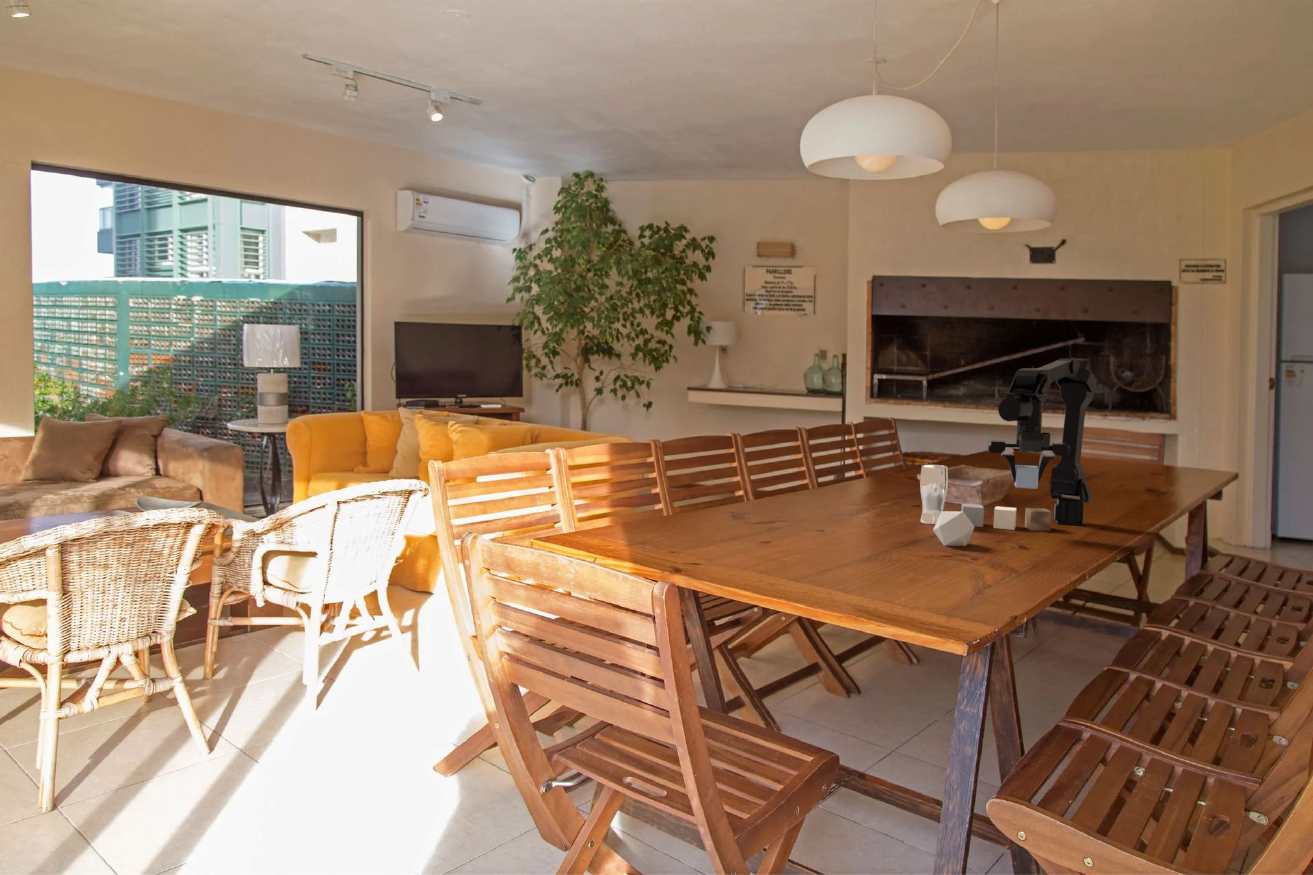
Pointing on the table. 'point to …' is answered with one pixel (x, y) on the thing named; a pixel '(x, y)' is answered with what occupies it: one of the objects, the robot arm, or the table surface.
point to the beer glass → (933, 492)
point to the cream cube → (1005, 518)
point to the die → (953, 528)
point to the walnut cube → (1037, 519)
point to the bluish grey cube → (1026, 476)
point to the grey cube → (974, 513)
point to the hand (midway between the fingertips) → (1026, 482)
